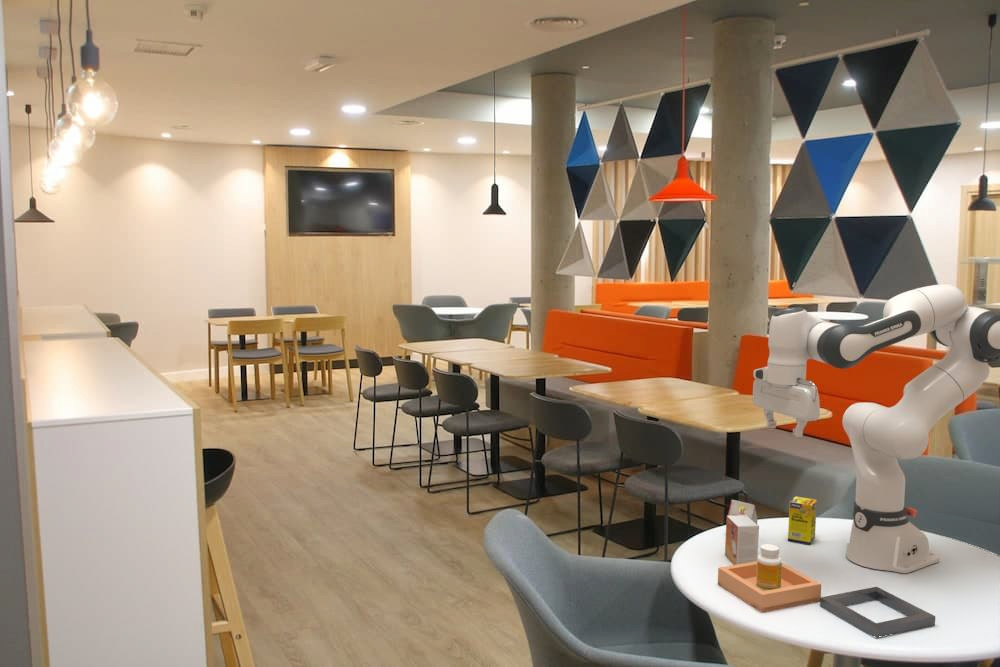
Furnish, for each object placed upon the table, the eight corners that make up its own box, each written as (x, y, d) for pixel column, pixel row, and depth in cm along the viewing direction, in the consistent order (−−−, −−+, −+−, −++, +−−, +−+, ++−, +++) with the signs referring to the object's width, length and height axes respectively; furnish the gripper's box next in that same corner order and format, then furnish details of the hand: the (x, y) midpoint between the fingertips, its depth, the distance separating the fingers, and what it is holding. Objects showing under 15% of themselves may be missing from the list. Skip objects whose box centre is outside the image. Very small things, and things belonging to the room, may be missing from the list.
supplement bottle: (782, 593, 190) (783, 552, 189) (757, 591, 191) (758, 550, 190) (779, 584, 195) (780, 543, 194) (754, 582, 196) (756, 542, 195)
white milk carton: (733, 533, 231) (735, 498, 230) (756, 539, 226) (758, 503, 225) (727, 536, 229) (728, 501, 227) (749, 543, 224) (751, 506, 223)
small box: (724, 555, 216) (725, 515, 214) (745, 554, 216) (747, 514, 215) (735, 567, 208) (737, 526, 206) (757, 566, 208) (759, 525, 207)
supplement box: (810, 545, 222) (812, 505, 221) (787, 541, 225) (789, 501, 224) (815, 538, 227) (817, 499, 226) (792, 534, 230) (794, 495, 229)
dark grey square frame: (876, 595, 192) (876, 586, 191) (934, 625, 177) (935, 616, 177) (819, 606, 186) (820, 597, 186) (875, 638, 171) (876, 629, 171)
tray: (773, 574, 203) (774, 558, 203) (820, 601, 189) (821, 583, 188) (717, 584, 198) (718, 567, 197) (761, 612, 183) (762, 594, 182)
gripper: (828, 381, 193) (825, 440, 195) (769, 368, 212) (767, 422, 214) (805, 383, 191) (803, 442, 193) (749, 369, 210) (747, 424, 212)
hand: (784, 431), depth 203 cm, fingers open, 8 cm apart
